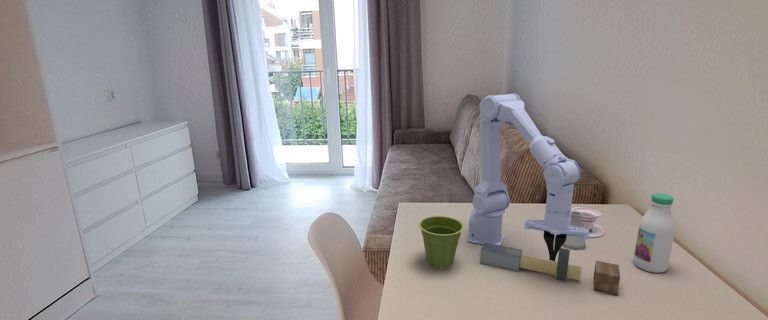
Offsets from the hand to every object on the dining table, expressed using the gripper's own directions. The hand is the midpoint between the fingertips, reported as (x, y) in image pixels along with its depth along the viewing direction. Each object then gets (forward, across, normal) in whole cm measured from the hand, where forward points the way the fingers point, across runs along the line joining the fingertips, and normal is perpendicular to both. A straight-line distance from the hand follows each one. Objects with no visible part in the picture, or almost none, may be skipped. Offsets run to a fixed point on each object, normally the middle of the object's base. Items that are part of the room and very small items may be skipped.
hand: (552, 259), depth 104 cm
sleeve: (+5, -13, 0) cm, 14 cm away
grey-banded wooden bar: (+4, -4, 0) cm, 6 cm away
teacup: (+5, +7, +34) cm, 35 cm away
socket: (+5, +12, 0) cm, 13 cm away
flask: (+5, +4, +21) cm, 22 cm away
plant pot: (+5, -28, -6) cm, 29 cm away
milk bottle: (+5, +23, +16) cm, 29 cm away
